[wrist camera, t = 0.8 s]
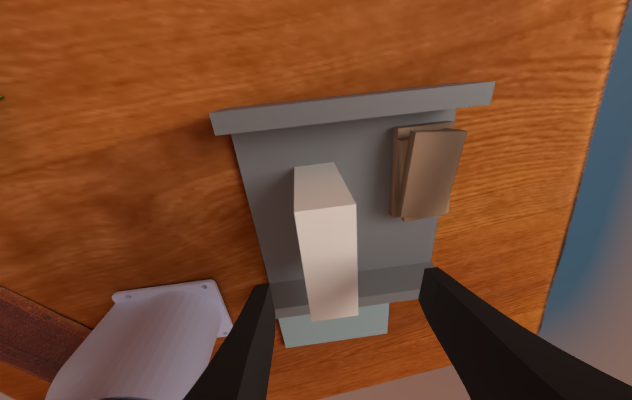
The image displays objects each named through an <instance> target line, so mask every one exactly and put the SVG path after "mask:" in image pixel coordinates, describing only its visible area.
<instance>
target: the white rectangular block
mask: <svg viewBox="0 0 632 400" xmlns="http://www.w3.org/2000/svg"><path fill="white" fill-rule="evenodd" d="M294 216H295V222H296V228H297V234H298V241H299V247H300V253H301V259H302V265H303V271H304V278H305V284H306V290H307V296H308V302H309V308H310V315H311V321H312V322H315V321H322V320H329V319H337V318H344V317H351V316H358V315H359V313H358V265H357V216H356V203H355V201H354V199H353V197H352V195H351V193H350V192H349V190H348V188H347V186H346V184H345V182H344V180H343V179H342V177H341V175H340V173H339V171H338V169H337V167H336V166H335V164H334V162H332V163H323V164H315V165H307V166H298V167H294Z"/></svg>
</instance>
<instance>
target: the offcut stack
mask: <svg viewBox="0 0 632 400" xmlns="http://www.w3.org/2000/svg"><path fill="white" fill-rule="evenodd" d="M453 128H454V122H453V121H439V122H430V123H422V124H413V125H405V126H396V127H394V130H393V149H392V167H391V186H390V205H389V214H390V215H391V216H392V218H395V217H400V218H401V219H402V220H403V221H404V223H405V222H410V221H414V220H419V219H423V218H428V217H433V216H444V215H445V214H446V213H449V202H450V193H451V189H452V185H453V182H454V178H455V174H456V171H457V167H458V164H459V160H460V156H461V153H462V149H463V145H464V142H465V138H466V134H467V131H464V130H460V129H453Z"/></svg>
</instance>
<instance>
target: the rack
mask: <svg viewBox="0 0 632 400" xmlns="http://www.w3.org/2000/svg"><path fill="white" fill-rule="evenodd" d="M494 86H495V81H489V82H466V83H451V84H442V85H433V86H424V87H415V88H406V89H397V90H388V91H379V92H370V93H361V94H352V95H342V96H333V97H324V98H315V99H306V100H297V101H288V102H279V103H270V104H261V105H252V106H243V107H234V108H226V109H222V110H218V111H214V112H211V113H209V116H210V119H211V123H212V126H213V130H214V133H215V136H217V135H226V134H231V137H232V141H233V144H234V148H235V152H236V156H237V160H238V164H239V168H240V172H241V175H242V179H243V183H244V187H245V191H246V195H247V199H248V202H249V206H250V210H251V214H252V218H253V222H254V226H255V230H256V233H257V237H258V241H259V245H260V249H261V253H262V257H263V260H264V264H265V268H266V272H267V276H268V280H269V284H270V289H271V294H272V299H273V304H274V309H275V314H276V315H275V319H279V318H286V317H293V316H300V315H307V314H310V308H309V302H308V296H307V290H306V284H305V278H304V271H303V265H302V259H301V253H300V247H299V241H298V234H297V228H296V222H295V216H294V167H298V166H307V165H315V164H323V163H332V162H334V164H335V166H336V167H337V169H338V171H339V173H340V175H341V177H342V179H343V180H344V182H345V184H346V186H347V188H348V190H349V192H350V193H351V195H352V197H353V199H354V201H355V203H356V216H357V265H358V307H364V306H371V305H378V304H385V303H392V302H400V301H407V300H414V299H418V297H419V293H420V288H421V283H422V279H423V274H424V269H425V268H433V267H435V266H434V265H433V264H432V263H431V257H432V251H433V245H434V239H435V233H436V227H437V221H438V216H433V217H428V218H423V219H419V220H414V221H410V222H405V223H404V221H403V220H402V219H401V218H400V217H395V218H392V216H391V215H390V214H389V205H390V186H391V167H392V149H393V130H394V127H396V126H405V125H413V124H422V123H430V122H439V121H453V122H454V119H455V113H456V108H462V107H471V106H479V105H488V104H490V103H491V99H492V94H493V90H494Z"/></svg>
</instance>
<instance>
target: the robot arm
mask: <svg viewBox="0 0 632 400" xmlns="http://www.w3.org/2000/svg"><path fill="white" fill-rule="evenodd" d="M205 285H206V286H205ZM112 300H113V301H114V302H115V304H114V306H113V307H112V308H111V309H110V310H109V312H108V313H107V314H106V315H105V316H104V318H103V319H102V320H101V321H100V322H99V323H98V325H97V326H96V327H95V328H94V329H93V331H92V332H91V333H90V334H89V335H88V337H87V338H86V339H85V340H84V341H83V342H82V344H81V345H80V346H79V347H78V348H77V350H76V351H75V352H74V353H73V354H72V356H71V357H70V358H69V359H68V360H67V361H66V363H65V364H64V365H63V366H62V368H61V369H60V370H59V372H58V373H57V375H56V377H55V378H54V380H53V382H52V384H51V386H50V388H49V390H48V393H47V395H46V398H45V400H266V395H267V388H268V381H269V374H270V367H271V360H272V353H273V346H274V338H275V315H276V314H275V309H274V304H273V299H272V294H271V289H270V284H262V285H256V286H255V287H254V288H253V290H252V292H251V294H250V296H249V298H248V300H247V302H246V304H245V306H244V308H243V310H242V312H241V313H240V315H239V317H238V319H237V320H236V322H235V324H234V325H233V324H232V321H231V319H230V316H229V314H228V311H227V309H226V306H225V304H224V301H223V299H222V296H221V294H220V292H219V289H218V287H217V284H216V282H215V281H214V280H212V279H209V280H201V281H194V282H186V283H179V284H171V285H164V286H156V287H149V288H141V289H134V290H127V291H119V292H115V293H114V294H113V295H112ZM418 300H419V302H420V305H421V307H422V310H423V312H424V314H425V316H426V319H427V321H428V323H429V325H430V326H431V328H432V330H433V332H434V333H435V335H436V337H437V339H438V340H439V342H440V344H441V346H442V347H443V349H444V351H445V352H446V354H447V356H448V358H449V359H450V361H451V363H452V364H453V366H454V368H455V369H456V371H457V373H458V375H459V377H460V378H461V380H462V382H463V384H464V386H465V388H466V390H467V392H468V394H469V396H470V398H471V400H632V386H630V385H628V384H626V383H624V382H622V381H620V380H618V379H616V378H614V377H612V376H610V375H608V374H606V373H604V372H602V371H600V370H598V369H596V368H594V367H592V366H591V365H589V364H587V363H585V362H583V361H581V360H579V359H577V358H576V357H574V356H572V355H570V354H568V353H566V352H565V351H563V350H561V349H559V348H557V347H555V346H554V345H552V344H551V343H549V342H547V341H546V340H544V339H542V338H540V337H539V336H537V335H535V334H534V333H532V332H530V331H529V330H527V329H526V328H524V327H522V326H521V325H519V324H518V323H516V322H515V321H513V320H512V319H510V318H509V317H507V316H505V315H504V314H502V313H501V312H499V311H498V310H497V309H495V308H494V307H492V306H491V305H489V304H488V303H486V302H485V301H484V300H482V299H481V298H479V297H478V296H477V295H475V294H474V293H472V292H471V291H470V290H468V289H467V288H466V287H464V286H463V285H461V284H460V283H459V282H457V281H456V280H455V279H453V278H452V277H451V276H449V275H448V274H446V273H445V272H444V271H442V270H441V269H439V268H438V267H433V268H425V269H424V274H423V279H422V283H421V288H420V293H419V297H418ZM225 336H227V337H226V339H225V340H224V342H223V343H222V345H221V346H220V348H219V350H218V351H217V353H216V354H215V356H214V357H213V359H212V360H211V362H210V363H209V360H210V357H211V354H212V351H213V348H214V344H215V341H216V338H218V337H225ZM208 363H209V365H208Z"/></svg>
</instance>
